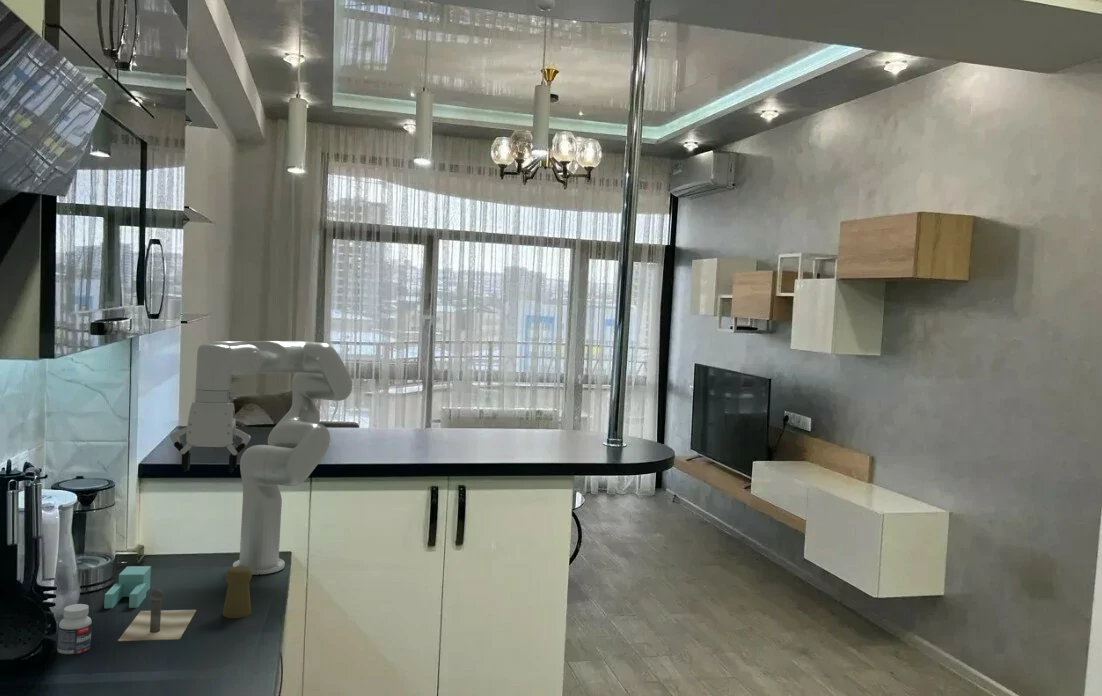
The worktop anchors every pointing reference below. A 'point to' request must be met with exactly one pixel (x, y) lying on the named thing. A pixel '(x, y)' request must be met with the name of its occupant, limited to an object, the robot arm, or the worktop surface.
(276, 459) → the robot arm
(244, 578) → the cork
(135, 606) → the link
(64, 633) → the pill bottle
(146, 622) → the stand
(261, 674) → the worktop surface
